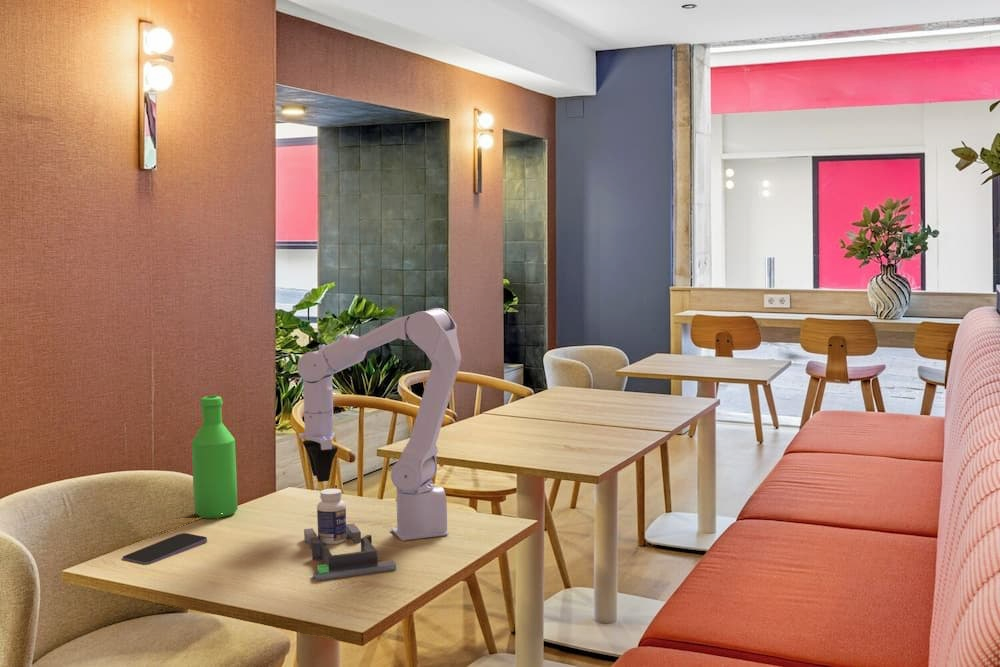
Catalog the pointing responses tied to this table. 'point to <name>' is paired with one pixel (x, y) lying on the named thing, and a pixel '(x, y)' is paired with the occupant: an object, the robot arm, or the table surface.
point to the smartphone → (165, 548)
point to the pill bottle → (331, 517)
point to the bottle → (214, 464)
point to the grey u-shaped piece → (351, 532)
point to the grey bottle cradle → (348, 561)
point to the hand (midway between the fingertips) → (320, 478)
